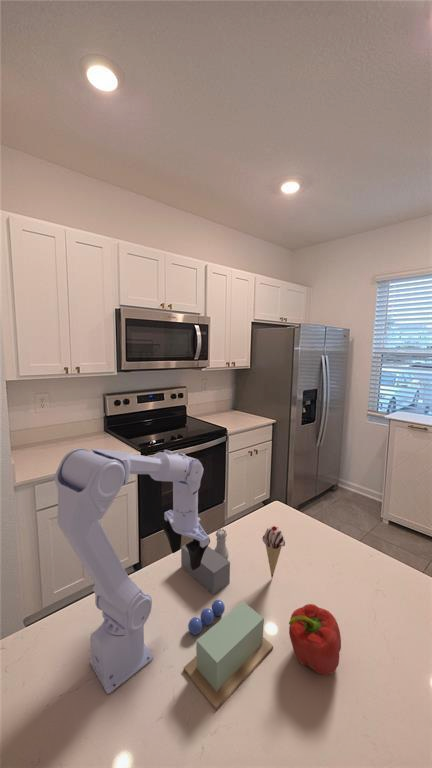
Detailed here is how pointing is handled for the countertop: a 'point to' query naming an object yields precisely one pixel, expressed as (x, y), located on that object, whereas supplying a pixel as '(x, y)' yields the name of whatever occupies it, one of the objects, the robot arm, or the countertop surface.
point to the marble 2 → (207, 616)
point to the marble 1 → (195, 626)
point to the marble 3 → (218, 607)
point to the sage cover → (229, 644)
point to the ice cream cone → (273, 546)
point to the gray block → (208, 569)
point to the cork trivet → (233, 681)
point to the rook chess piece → (221, 543)
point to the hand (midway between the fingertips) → (185, 558)
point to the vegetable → (315, 638)
